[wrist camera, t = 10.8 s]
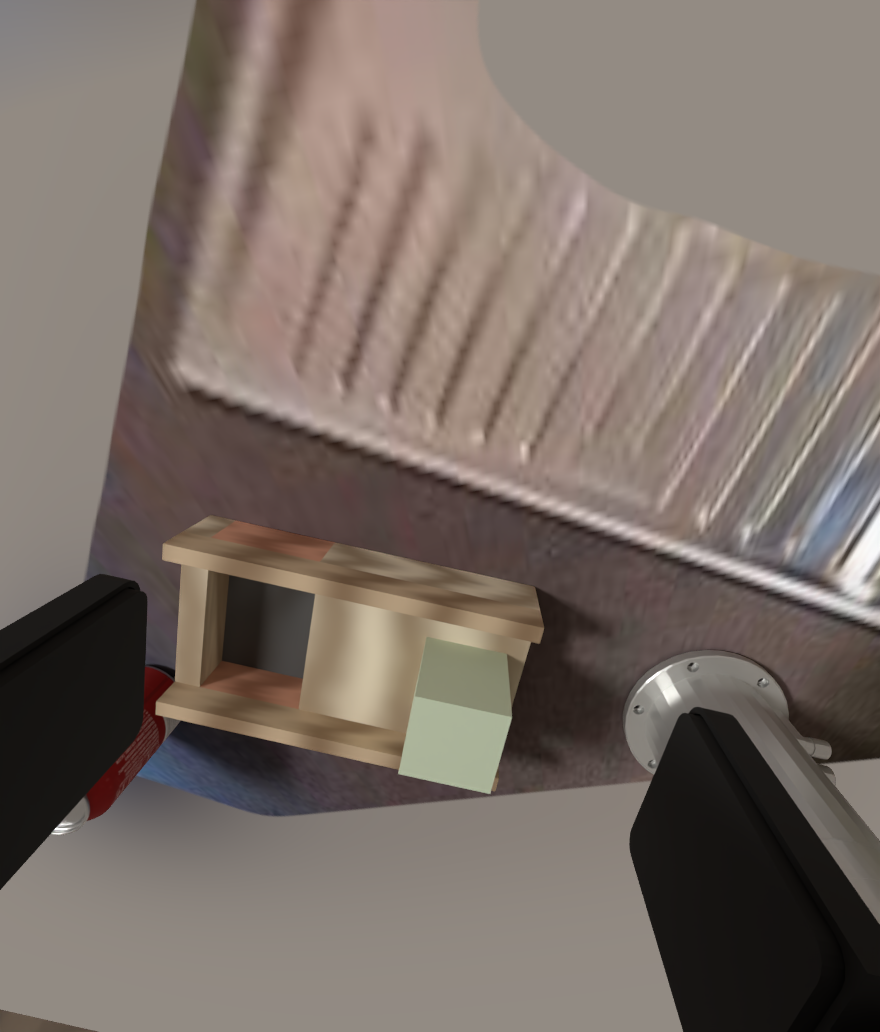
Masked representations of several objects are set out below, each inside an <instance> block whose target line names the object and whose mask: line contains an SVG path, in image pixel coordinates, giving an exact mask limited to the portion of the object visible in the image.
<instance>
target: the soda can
mask: <svg viewBox="0 0 880 1032" xmlns="http://www.w3.org/2000/svg"><path fill="white" fill-rule="evenodd" d="M174 682H175V679H174V678H173V677H171V676H170V675H169V674H168V673H166V672H164V671H163V670H160V669H158V668H156V667H152V666H147V665H145V683H144V712H143V723H142V726H141V729H140V731H139V734H138V735H137V737H136V739H135V740H134V741H133V743H132V744H131V745H130V746H129V747H128V748H127V749H126V750H125V752H124V753H123V754H122V755H121V756H120V757H119V758H118V759H117V760H116V762H115V763H114V764H113V765H112V766H111V767H110V768H109V769H108V770H107V772H106V773H105V774H104V775H103V776H102V777H101V778H100V779H99V781H98V782H97V783H96V784H95V785H94V786H93V787H92V788H91V789H90V791H89V792H88V793H87V794H86V795H85V796H84V797H83V798H82V799H81V801H80V802H79V803H78V804H77V805H76V806H75V807H74V808H73V809H72V811H71V812H70V813H69V814H68V815H67V816H66V817H65V818H64V819H63V821H62V822H61V823H60V824H59V825H58V826H57V827H56V828H55V830H54V831H53V832H52V833H51V834H55V835H64V834H70V833H72V832H75V831H77V830H78V829H80V828H81V827H82V826H83V825H84V824H85V822H86V821H88V820H91V819H94V818H96V817H98V816H100V815H102V814H103V813H104V812H106V811H107V810H108V809H109V808H110V806H111V805H112V804H113V803H114V802H115V800H116V799H117V798H118V797H119V795H120V794H121V793H122V792H123V791H124V789H125V788H126V787H127V786H128V785H129V783H130V782H131V781H132V780H133V778H134V777H135V776H136V775H137V774H138V772H139V771H140V770H141V769H142V767H143V766H144V765H145V764H146V763H147V761H148V760H149V759H150V758H151V756H152V755H153V754H154V753H155V752H156V750H157V749H158V748H159V747H160V745H161V744H162V743H163V742H164V741H165V739H166V738H167V737H168V736H169V735H170V733H171V732H172V731H173V730H174V728H175V727H176V726H177V725H178V724H179V722H180V721H181V720H177V719H173V718H168V717H164V716H159V715H156V701H157V700H158V699H159V698H160V697H161V696H162V695H163V694H164V692H165V691H166V690H167V689H168V688H169V687H170V686H171V685H172V684H173V683H174Z"/></svg>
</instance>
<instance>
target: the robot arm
mask: <svg viewBox="0 0 880 1032" xmlns="http://www.w3.org/2000/svg"><path fill="white" fill-rule="evenodd" d="M146 627H147V596H146V594H145V593H144V592H142V591H140V587H139V585H138V583H136V582H135V581H132V580H127V579H123V578H118V577H114V576H109V575H105V574H99V575H96V576H94V577H92V578H90V579H89V580H87V581H85V582H83V583H82V584H80V585H78V586H76V587H75V588H73V589H71V590H70V591H68V592H66V593H64V594H63V595H61V596H59V597H57V598H55V599H54V600H52V601H50V602H48V603H47V604H45V605H44V606H42V607H40V608H38V609H37V610H35V611H33V612H31V613H29V614H28V615H26V616H24V617H22V618H21V619H19V620H17V621H15V622H14V623H12V624H10V625H9V626H7V627H5V628H3V629H1V630H0V890H1V888H2V887H3V886H4V885H5V884H6V883H7V882H8V881H9V879H10V878H11V877H12V876H13V875H14V874H15V873H16V872H17V871H18V870H19V868H20V867H21V866H22V865H23V864H24V863H25V862H26V861H27V860H28V858H29V857H30V856H31V855H32V854H33V853H34V852H35V851H36V849H37V848H38V847H39V846H40V845H41V844H42V843H43V842H44V841H45V839H46V838H47V837H48V836H49V835H50V834H51V833H52V832H53V831H54V830H55V828H56V827H57V826H58V825H59V824H60V823H61V822H62V821H63V819H64V818H65V817H66V816H67V815H68V814H69V813H70V812H71V811H72V809H73V808H74V807H75V806H76V805H77V804H78V803H79V802H80V801H81V799H82V798H83V797H84V796H85V795H86V794H87V793H88V792H89V791H90V789H91V788H92V787H93V786H94V785H95V784H96V783H97V782H98V781H99V779H100V778H101V777H102V776H103V775H104V774H105V773H106V772H107V770H108V769H109V768H110V767H111V766H112V765H113V764H114V763H115V762H116V760H117V759H118V758H119V757H120V756H121V755H122V754H123V753H124V752H125V750H126V749H127V748H128V747H129V746H130V745H131V744H132V743H133V741H134V740H135V739H136V737H137V735H138V734H139V731H140V729H141V726H142V723H143V712H144V683H145V655H146ZM623 730H624V733H625V737H626V740H627V743H628V745H629V747H630V750H631V752H632V754H633V755H634V756H635V758H636V759H637V761H638V762H639V763H640V764H641V765H642V766H643V767H644V768H645V769H646V770H647V771H649V772H650V773H652V774H654V776H653V779H652V781H651V784H650V786H649V788H648V791H647V793H646V796H645V798H644V801H643V803H642V805H641V808H640V810H639V812H638V815H637V817H636V820H635V822H634V824H633V827H632V829H631V833H630V853H631V857H632V860H633V864H634V867H635V871H636V874H637V877H638V880H639V884H640V887H641V891H642V894H643V897H644V901H645V904H646V908H647V911H648V914H649V918H650V921H651V924H652V928H653V931H654V934H655V938H656V941H657V945H658V948H659V951H660V955H661V958H662V961H663V965H664V968H665V972H666V974H667V978H668V981H669V985H670V988H671V992H672V995H673V998H674V1002H675V1005H676V1009H677V1012H678V1015H679V1019H680V1022H681V1025H682V1029H683V1032H880V841H879V839H878V838H877V837H876V836H875V835H874V833H873V832H872V831H871V830H870V829H869V827H868V826H867V825H866V824H865V822H864V821H863V820H862V819H861V817H860V816H859V815H858V814H857V813H856V811H855V810H854V809H853V808H852V806H851V805H850V804H849V803H848V802H847V800H846V799H845V798H844V797H843V795H842V794H841V793H840V792H839V790H838V789H837V788H836V787H835V784H836V779H835V775H834V773H833V771H832V770H831V769H830V768H829V767H828V766H824V765H820V764H817V763H816V762H815V761H814V760H813V759H812V757H815V758H820V759H824V760H825V759H829V758H830V757H831V753H832V750H831V746H830V744H829V743H828V742H827V741H825V740H820V739H816V738H811V737H803V736H801V734H800V733H799V732H798V731H797V730H796V728H795V727H794V726H793V725H792V724H791V723H790V721H789V710H788V704H787V700H786V698H785V695H784V693H783V691H782V689H781V688H780V686H779V685H778V684H777V682H776V681H775V680H774V678H773V677H772V676H771V675H770V674H769V673H768V672H767V671H766V670H765V669H764V668H763V667H761V666H760V665H758V664H757V663H755V662H754V661H752V660H751V659H748V658H746V657H744V656H741V655H739V654H735V653H731V652H726V651H719V650H701V651H692V652H687V653H684V654H680V655H677V656H674V657H672V658H669V659H667V660H665V661H663V662H661V663H659V664H658V665H656V666H655V667H653V668H652V669H650V670H649V671H648V672H647V673H646V674H645V675H644V676H643V677H642V678H640V679H639V680H638V682H637V683H636V684H635V686H634V687H633V689H632V690H631V692H630V694H629V696H628V698H627V700H626V703H625V707H624V712H623ZM0 1032H97V1031H92V1030H88V1029H84V1028H79V1027H74V1026H70V1025H66V1024H62V1023H57V1022H53V1021H48V1020H44V1019H39V1018H35V1017H31V1016H26V1015H22V1014H17V1013H13V1012H8V1011H4V1010H0Z"/></svg>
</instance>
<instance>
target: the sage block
mask: <svg viewBox="0 0 880 1032" xmlns="http://www.w3.org/2000/svg"><path fill="white" fill-rule="evenodd" d="M511 720H512V709H511V697H510V685H509V673H508V661H507V654H505V653H500V652H496V651H491V650H486V649H482V648H477V647H472V646H468V645H463V644H458V643H454V642H449V641H444V640H440V639H435V638H430V637H426V642H425V646H424V651H423V656H422V660H421V665H420V670H419V674H418V679H417V684H416V688H415V693H414V698H413V702H412V707H411V712H410V717H409V722H408V727H407V732H406V737H405V742H404V747H403V752H402V758H401V763H400V768H399V773H398V774H401V775H406V776H410V777H415V778H419V779H424V780H429V781H433V782H438V783H442V784H447V785H451V786H456V787H461V788H465V789H470V790H474V791H479V792H483V793H488V794H490V793H491V789H492V786H493V782H494V779H495V775H496V772H497V768H498V765H499V761H500V758H501V754H502V751H503V747H504V744H505V740H506V737H507V733H508V730H509V726H510V723H511Z"/></svg>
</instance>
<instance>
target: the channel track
mask: <svg viewBox="0 0 880 1032" xmlns="http://www.w3.org/2000/svg"><path fill="white" fill-rule="evenodd" d="M162 560H165V561H170V562H174V563H179V564H182V565H181V582H180V600H179V618H178V636H177V653H176V671H175V682H174V683H173V684H172V685H171V686H170V687H169V688H168V689H167V690H166V691H165V692H164V694H163V695H162V696H161V697H160V698H159V699H158V700H157V701H156V715H159V716H164V717H168V718H173V719H177V720H181V721H186V722H190V723H195V724H199V725H204V726H208V727H212V728H217V729H221V730H226V731H230V732H235V733H239V734H243V735H248V736H252V737H257V738H261V739H266V740H270V741H274V742H279V743H283V744H288V745H292V746H297V747H301V748H305V749H310V750H314V751H319V752H323V753H327V754H332V755H336V756H341V757H345V758H350V759H354V760H358V761H363V762H367V763H372V764H376V765H381V766H385V767H389V768H394V769H398V770H399V768H400V763H401V758H402V752H403V747H404V742H405V737H406V732H407V727H408V722H409V717H410V712H411V707H412V702H413V698H414V693H415V688H416V684H417V679H418V674H419V670H420V665H421V660H422V656H423V651H424V646H425V642H426V637H430V638H435V639H440V640H444V641H449V642H454V643H458V644H463V645H468V646H472V647H477V648H482V649H486V650H491V651H496V652H500V653H505V654H507V661H508V673H509V685H510V697H511V708H512V704H513V701H514V698H515V694H516V691H517V688H518V684H519V681H520V677H521V674H522V671H523V667H524V664H525V661H526V657H527V654H528V650H529V647H530V644H531V642H534V643H538V644H540V641H541V638H542V634H543V631H544V625H543V620H542V616H541V612H540V607H539V603H538V598H537V594H536V590H535V587H534V586H530V585H525V584H521V583H516V582H511V581H507V580H502V579H498V578H493V577H489V576H484V575H480V574H475V573H471V572H466V571H462V570H457V569H453V568H448V567H444V566H439V565H435V564H430V563H426V562H421V561H417V560H412V559H407V558H403V557H398V556H394V555H389V554H385V553H380V552H376V551H371V550H367V549H362V548H358V547H353V546H349V545H344V544H340V543H335V542H331V541H326V540H322V539H317V538H313V537H308V536H303V535H299V534H294V533H290V532H285V531H281V530H276V529H272V528H267V527H263V526H258V525H254V524H249V523H245V522H240V521H236V520H231V519H227V518H222V517H218V516H213V515H210V516H209V517H207V518H205V519H204V520H202V521H200V522H198V523H197V524H195V525H193V526H192V527H190V528H188V529H187V530H185V531H183V532H182V533H180V534H178V535H177V536H175V537H173V538H172V539H170V540H168V541H167V542H165V543H163V556H162ZM498 780H499V772H498V768H497V772H496V775H495V779H494V782H493V786H492V789H491V791H495V790H496V786H497V783H498Z"/></svg>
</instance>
